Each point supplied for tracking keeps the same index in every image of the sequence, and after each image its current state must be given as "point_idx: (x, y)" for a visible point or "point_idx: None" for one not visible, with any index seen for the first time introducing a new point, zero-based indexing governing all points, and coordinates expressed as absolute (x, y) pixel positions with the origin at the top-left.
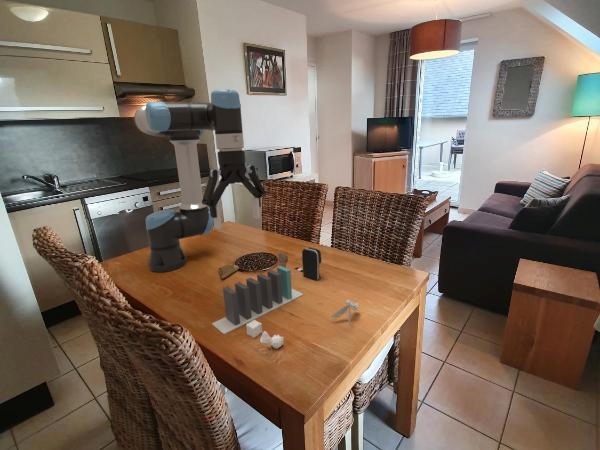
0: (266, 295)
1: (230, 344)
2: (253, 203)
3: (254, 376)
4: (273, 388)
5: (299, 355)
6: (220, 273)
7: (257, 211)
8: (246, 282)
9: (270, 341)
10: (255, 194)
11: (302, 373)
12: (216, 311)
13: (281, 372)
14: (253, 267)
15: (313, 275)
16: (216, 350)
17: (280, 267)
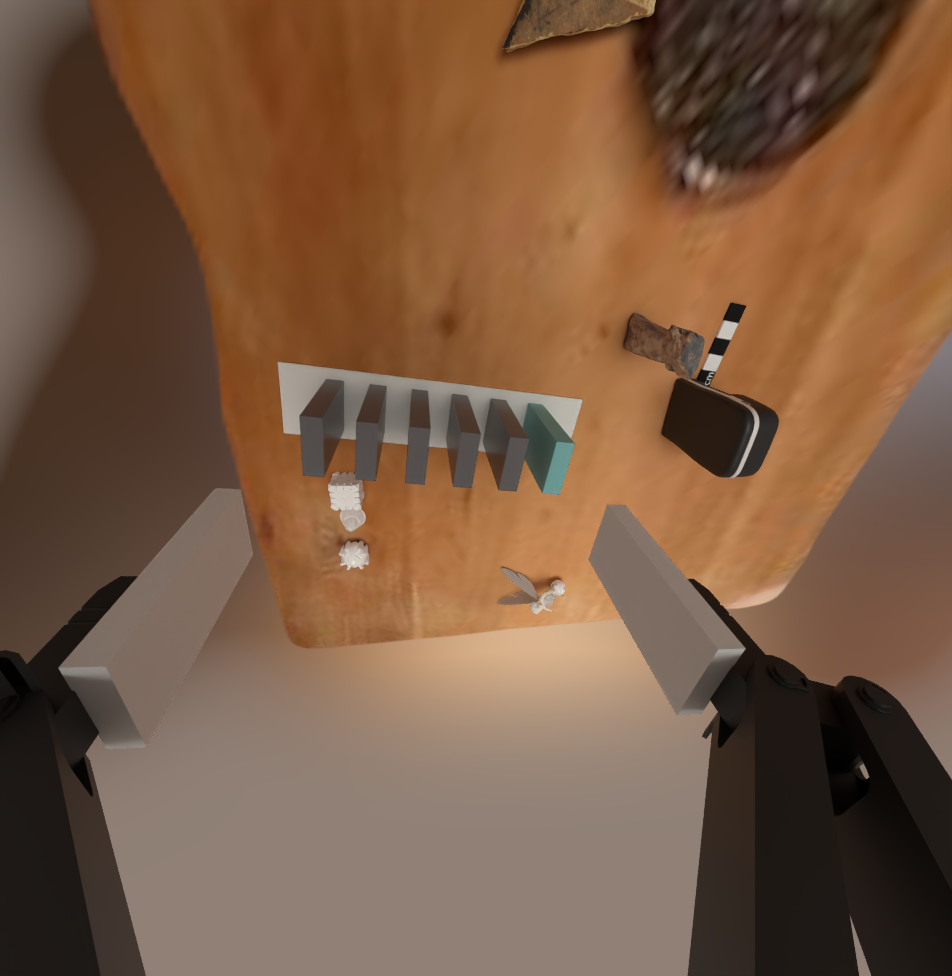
0: (449, 451)
1: (278, 474)
2: (666, 616)
3: (270, 572)
4: (281, 606)
5: (369, 587)
6: None
7: (613, 601)
8: (410, 421)
9: (339, 554)
10: (716, 747)
11: (340, 613)
12: (327, 304)
13: (315, 593)
14: (699, 82)
15: (671, 429)
16: (239, 466)
17: (561, 454)
